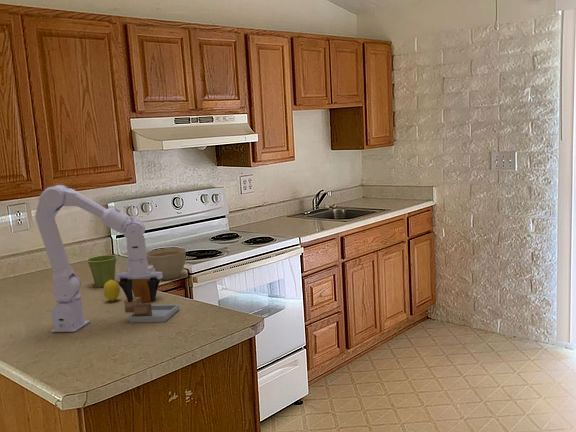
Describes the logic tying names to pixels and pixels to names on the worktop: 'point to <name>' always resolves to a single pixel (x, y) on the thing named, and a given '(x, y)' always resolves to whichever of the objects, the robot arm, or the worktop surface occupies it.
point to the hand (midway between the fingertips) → (141, 301)
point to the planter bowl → (167, 261)
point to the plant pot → (102, 268)
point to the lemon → (111, 290)
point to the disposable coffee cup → (142, 287)
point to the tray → (156, 314)
